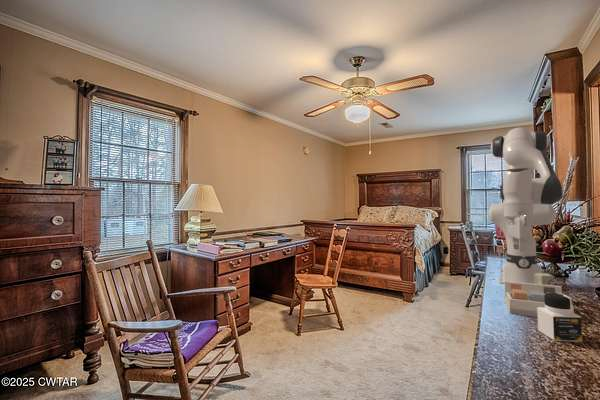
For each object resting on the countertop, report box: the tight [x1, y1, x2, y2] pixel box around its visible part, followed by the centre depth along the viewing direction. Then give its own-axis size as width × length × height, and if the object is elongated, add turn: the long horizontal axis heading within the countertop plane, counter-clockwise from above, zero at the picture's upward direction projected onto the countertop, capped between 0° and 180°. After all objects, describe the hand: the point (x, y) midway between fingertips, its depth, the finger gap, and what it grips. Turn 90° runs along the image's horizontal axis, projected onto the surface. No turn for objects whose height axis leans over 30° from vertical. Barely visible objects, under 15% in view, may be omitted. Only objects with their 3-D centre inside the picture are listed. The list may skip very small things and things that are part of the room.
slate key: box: [529, 290, 545, 302], centre depth 104 cm, size 5×4×2 cm
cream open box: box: [503, 281, 575, 318], centre depth 106 cm, size 14×17×8 cm
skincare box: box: [534, 272, 555, 286], centre depth 118 cm, size 5×4×10 cm
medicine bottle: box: [537, 293, 583, 343], centre depth 86 cm, size 7×7×12 cm
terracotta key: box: [512, 289, 528, 301], centre depth 106 cm, size 5×4×2 cm
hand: (519, 250), depth 106 cm, fingers open, 8 cm apart
